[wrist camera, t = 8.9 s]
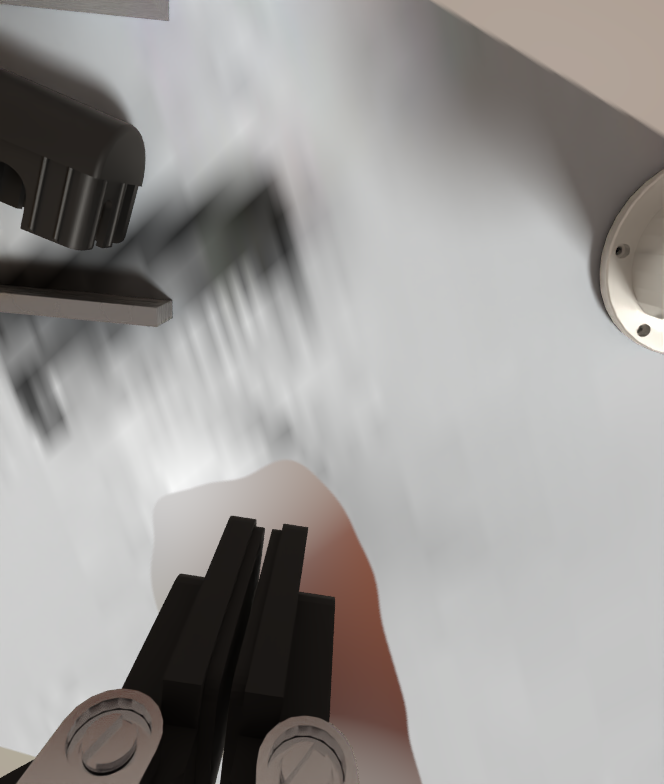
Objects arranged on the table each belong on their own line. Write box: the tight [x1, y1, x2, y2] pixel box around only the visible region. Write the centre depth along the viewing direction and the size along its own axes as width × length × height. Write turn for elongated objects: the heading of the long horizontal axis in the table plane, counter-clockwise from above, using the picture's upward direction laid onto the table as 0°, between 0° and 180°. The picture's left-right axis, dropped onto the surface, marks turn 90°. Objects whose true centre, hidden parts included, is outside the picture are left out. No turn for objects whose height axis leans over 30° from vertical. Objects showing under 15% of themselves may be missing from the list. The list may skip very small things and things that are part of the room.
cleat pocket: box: [0, 0, 172, 327], centre depth 30 cm, size 12×18×3 cm, turn 175°
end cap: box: [0, 68, 145, 250], centre depth 28 cm, size 10×7×7 cm
